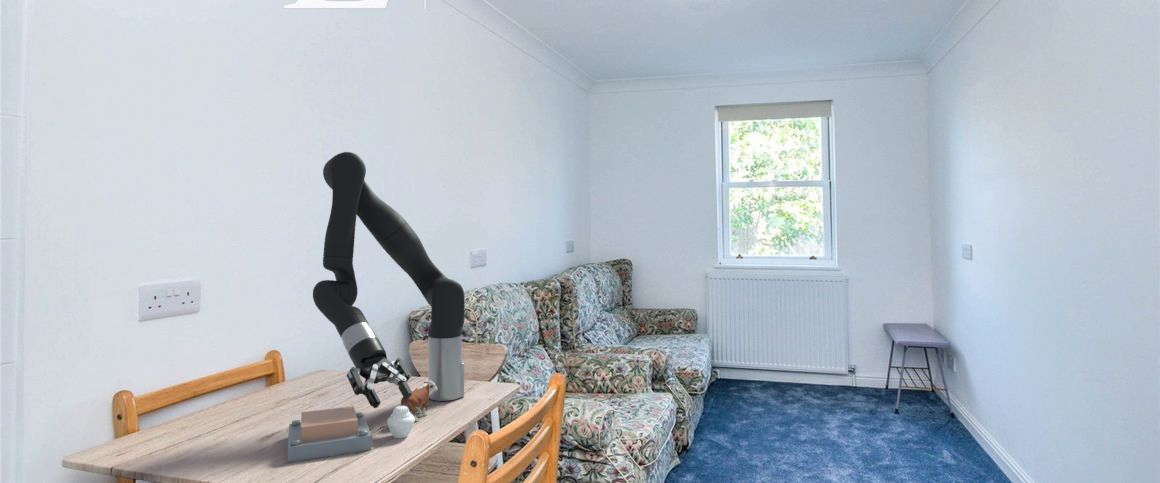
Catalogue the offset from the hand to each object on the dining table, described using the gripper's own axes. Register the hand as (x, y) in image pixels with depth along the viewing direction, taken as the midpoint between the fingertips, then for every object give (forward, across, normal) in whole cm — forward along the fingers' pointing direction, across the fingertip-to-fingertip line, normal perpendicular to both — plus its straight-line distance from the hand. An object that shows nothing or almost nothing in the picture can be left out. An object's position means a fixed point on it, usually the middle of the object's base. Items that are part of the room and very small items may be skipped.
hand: (393, 401), depth 135 cm
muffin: (+7, 0, +4) cm, 8 cm away
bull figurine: (+2, +11, +9) cm, 15 cm away
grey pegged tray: (0, -12, +10) cm, 16 cm away
